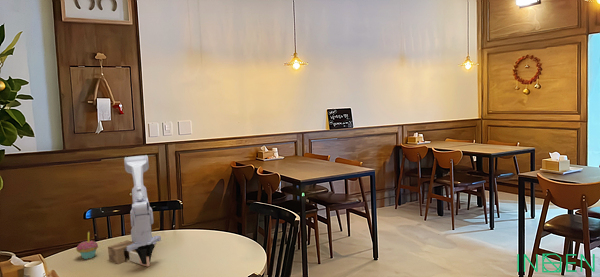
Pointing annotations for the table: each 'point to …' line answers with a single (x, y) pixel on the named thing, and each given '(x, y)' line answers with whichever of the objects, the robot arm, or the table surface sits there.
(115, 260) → the dispenser
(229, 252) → the table surface
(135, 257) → the pink flat bar
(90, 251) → the cupcake
